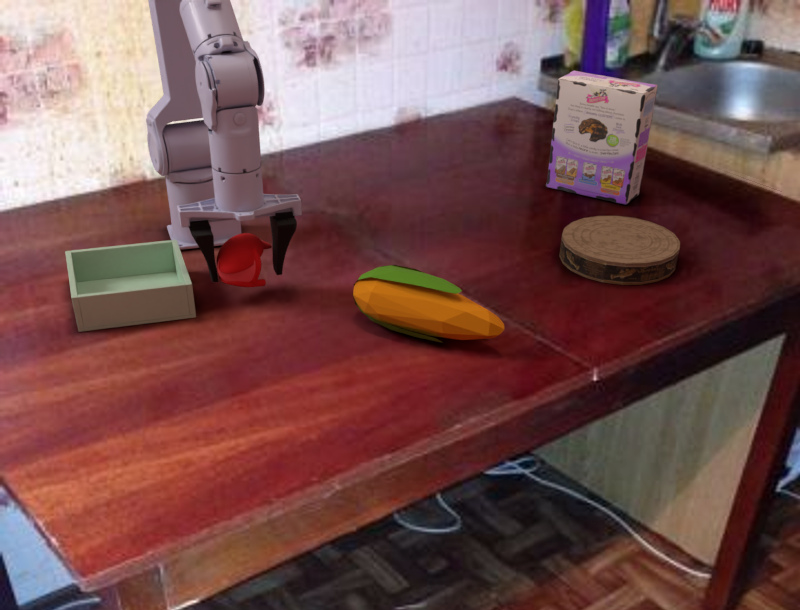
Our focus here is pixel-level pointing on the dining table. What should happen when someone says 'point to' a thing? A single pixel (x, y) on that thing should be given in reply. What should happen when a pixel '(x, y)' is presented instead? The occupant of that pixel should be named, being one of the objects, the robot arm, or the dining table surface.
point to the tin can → (619, 250)
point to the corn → (422, 305)
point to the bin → (129, 285)
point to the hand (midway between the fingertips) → (245, 275)
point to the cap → (241, 260)
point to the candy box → (600, 136)
